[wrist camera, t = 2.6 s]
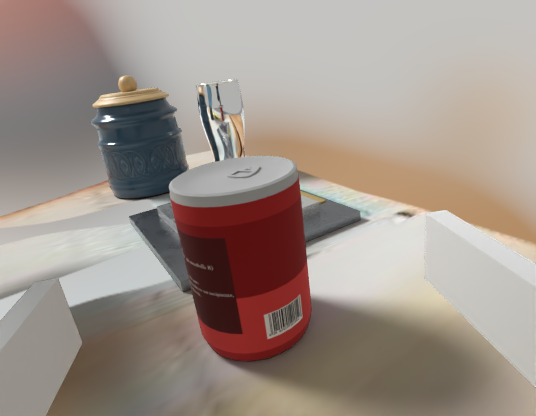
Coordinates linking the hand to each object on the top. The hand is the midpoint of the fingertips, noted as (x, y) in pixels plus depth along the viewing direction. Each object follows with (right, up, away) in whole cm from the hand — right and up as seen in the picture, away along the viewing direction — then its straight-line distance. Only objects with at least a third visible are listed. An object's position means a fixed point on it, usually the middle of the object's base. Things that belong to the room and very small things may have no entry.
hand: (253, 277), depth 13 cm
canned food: (0, -6, +13) cm, 14 cm away
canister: (-19, +6, +49) cm, 53 cm away
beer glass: (-5, +8, +50) cm, 50 cm away
